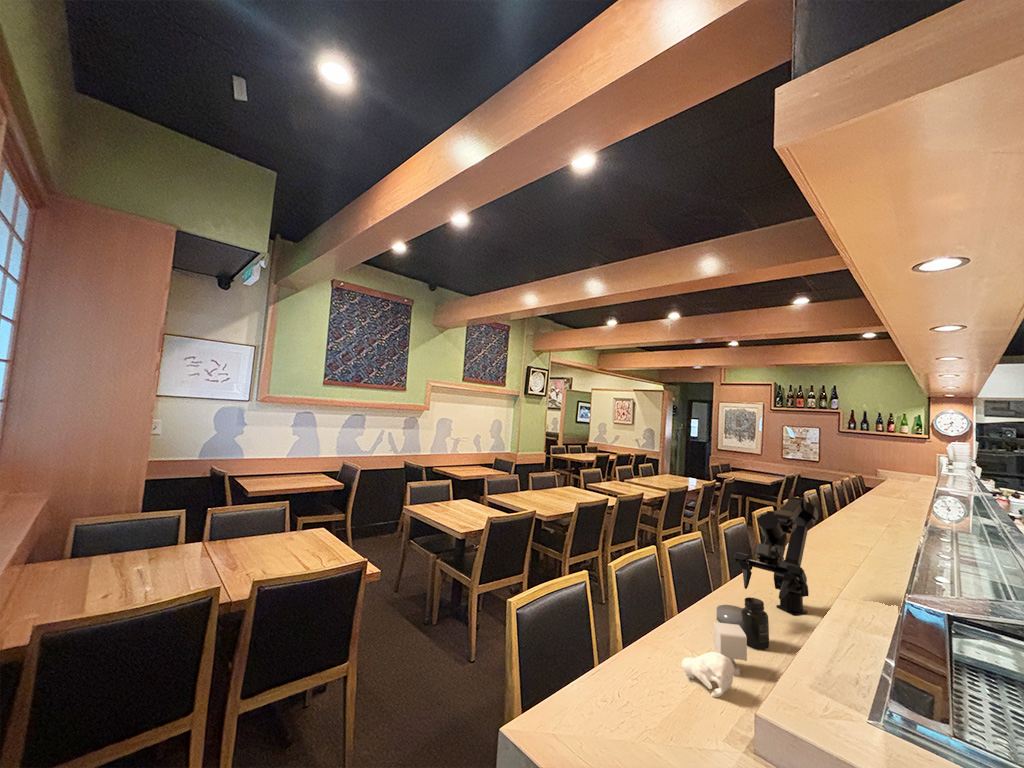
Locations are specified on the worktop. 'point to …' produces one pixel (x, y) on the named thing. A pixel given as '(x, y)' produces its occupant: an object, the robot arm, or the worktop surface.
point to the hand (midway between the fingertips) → (762, 593)
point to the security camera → (730, 642)
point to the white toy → (710, 671)
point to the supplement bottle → (755, 624)
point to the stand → (729, 614)
